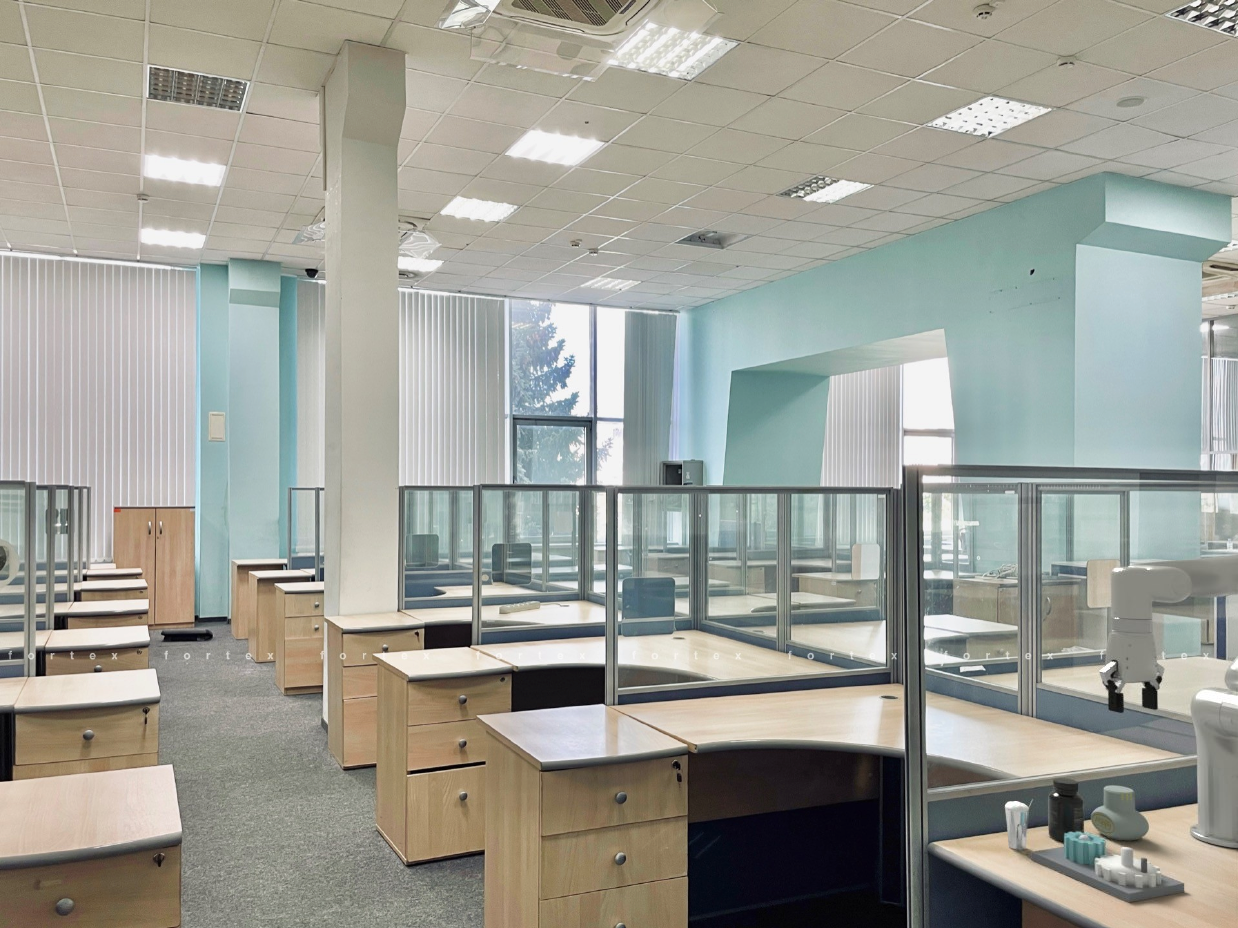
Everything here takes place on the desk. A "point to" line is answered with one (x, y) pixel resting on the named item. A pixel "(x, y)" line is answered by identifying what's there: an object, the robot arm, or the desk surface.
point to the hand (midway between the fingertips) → (1133, 709)
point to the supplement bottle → (1065, 809)
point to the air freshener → (1119, 815)
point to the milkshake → (1017, 824)
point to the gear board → (1099, 881)
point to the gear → (1083, 848)
